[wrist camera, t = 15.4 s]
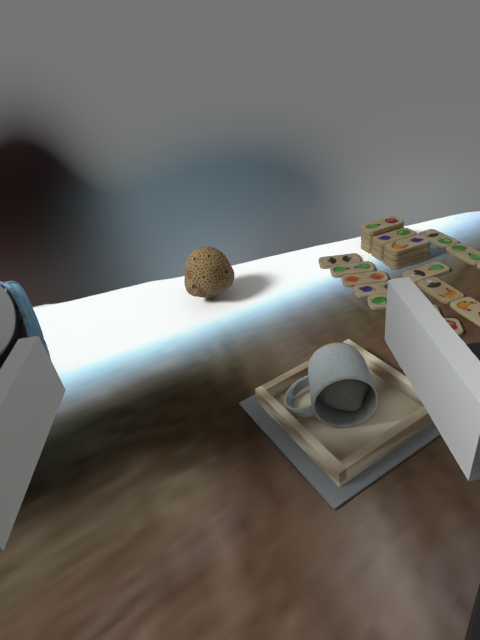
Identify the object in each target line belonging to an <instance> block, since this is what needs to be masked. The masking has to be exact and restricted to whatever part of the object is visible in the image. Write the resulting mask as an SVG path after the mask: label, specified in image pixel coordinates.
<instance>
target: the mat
mask: <svg viewBox="0 0 480 640" xmlns="http://www.w3.org/2000/svg"><path fill="white" fill-rule="evenodd" d="M239 405H240V406H241V407H242V408H243V409H244V411H245V412H246V413H247V414H248V415H249V416H250V417H251V418H252V419H253V421H254V422H255V423H256V424H257V425H258V426H259V427H260V428H261V429H262V431H263V432H264V433H265V434H266V435H267V436H268V437H269V438H270V439H271V440H272V442H273V443H274V444H275V445H276V446H277V447H278V448H279V449H280V450H281V452H282V453H283V454H284V455H285V456H286V457H287V458H288V459H289V460H290V461H291V463H292V464H293V465H294V466H295V467H296V468H297V469H298V470H299V471H300V473H301V474H302V475H303V476H304V477H305V478H306V479H307V480H308V481H309V483H310V484H311V485H312V486H313V487H314V488H315V489H316V490H317V491H318V492H319V494H320V495H321V496H322V497H323V498H324V499H325V500H326V501H327V502H328V504H329V505H330V506H331V507H332V508H333V509H334V510H335V509H337V508H338V507H340V506H341V505H343V504H344V503H345V502H347V501H348V500H350V499H351V498H352V497H354V496H355V495H357V494H358V493H359V492H361V491H362V490H364V489H365V488H366V487H368V486H369V485H371V484H372V483H373V482H375V481H376V480H378V479H379V478H381V477H382V476H383V475H385V474H386V473H388V472H389V471H390V470H392V469H393V468H395V467H396V466H397V465H399V464H400V463H402V462H403V461H404V460H406V459H407V458H409V457H410V456H411V455H413V454H414V453H416V452H417V451H419V450H420V449H421V448H423V447H424V446H426V445H427V444H428V443H430V442H431V441H433V440H434V439H435V438H437V437H438V436H440V435H441V434H440V432H439V431H438V429H437V427H436V425H435V424H434V423H432V424H431V425H429V426H428V427H426V428H425V429H424V430H422V431H421V432H419V433H418V434H416V435H415V436H413V437H412V438H411V439H409V440H408V441H406V442H405V443H403V444H402V445H400V446H399V447H397V448H396V449H395V450H393V451H392V452H390V453H389V454H387V455H386V456H384V457H383V458H382V459H380V460H379V461H377V462H376V463H374V464H373V465H371V466H370V467H368V468H367V469H366V470H364V471H363V472H361V473H360V474H358V475H357V476H355V477H354V478H353V479H351V480H350V481H348V482H347V483H345V484H344V485H342V486H341V487H338V485H337V484H336V483H335V482H334V481H333V480H332V479H331V478H330V477H329V476H328V475H327V474H326V473H325V472H324V471H323V470H322V469H321V468H320V467H319V466H318V465H317V464H316V463H315V462H314V461H313V460H312V459H311V458H310V456H309V455H308V454H307V453H306V452H305V451H304V450H303V449H302V448H301V447H300V446H299V445H298V444H297V443H296V442H295V441H294V440H293V439H292V438H291V437H290V436H289V435H288V434H287V433H286V432H285V431H284V430H283V429H282V427H281V426H280V425H279V424H278V423H277V422H276V421H275V420H274V419H273V418H272V417H271V416H270V415H269V414H268V413H267V412H266V411H265V410H264V409H263V408H262V407H261V406H260V405H259V404H258V403H257V398H256V394H254V395H252V396H250V397H249V398H247V399H245V400H243V401H241V402H239Z"/></svg>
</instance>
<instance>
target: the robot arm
mask: <svg viewBox="0 0 480 640" xmlns="http://www.w3.org/2000/svg"><path fill="white" fill-rule="evenodd" d="M43 338H44V337H43V334H42V330H41V327H40V325H39V322H38V320H37V317H36V315H35V312H34V310H33V308H32V305H31V303H30V301H29V299H28V297H27V295H26V293H25V291H24V289H23V288H22V287H21V285H20V284H19V283H17V282H15V281H8V282H0V551H4V548H5V545H6V543H7V540H8V538H9V535H10V533H11V530H12V527H13V525H14V522H15V520H16V517H17V514H18V512H19V509H20V507H21V504H22V501H23V499H24V496H25V494H26V491H27V488H28V486H29V483H30V481H31V478H32V475H33V473H34V470H35V468H36V465H37V462H38V460H39V457H40V455H41V452H42V449H43V447H44V444H45V442H46V439H47V436H48V434H49V431H50V429H51V426H52V423H53V421H54V418H55V416H56V413H57V410H58V408H59V405H60V403H61V400H62V397H63V395H64V392H65V388H64V386H63V384H62V382H61V380H60V378H59V376H58V374H57V372H56V370H55V368H54V366H53V364H52V362H51V359H50V354H49V351H48V348H47V345H46V342H45V340H44V339H43ZM385 341H386V343H387V344H388V346H389V348H390V349H391V351H392V353H393V355H394V356H395V358H396V360H397V361H398V363H399V365H400V366H401V368H402V370H403V371H404V373H405V375H406V376H407V378H408V380H409V382H410V383H411V385H412V387H413V388H414V390H415V392H416V393H417V395H418V397H419V398H420V400H421V402H422V403H423V405H424V407H425V409H426V410H427V412H428V414H429V415H430V417H431V419H432V420H433V422H434V424H435V425H436V427H437V429H438V431H439V432H440V434H441V436H442V437H443V439H444V441H445V442H446V444H447V446H448V447H449V449H450V451H451V452H452V454H453V456H454V458H455V459H456V461H457V463H458V464H459V466H460V468H461V469H462V471H463V473H464V474H465V476H466V478H467V479H468V481H472V480H478V479H480V342H479V343H472V344H465V343H464V342H463V341H462V339H461V338H460V337H459V336H458V335H457V333H456V332H455V331H454V330H453V329H452V328H451V326H450V325H449V324H448V323H447V322H446V320H445V319H444V318H443V317H442V316H441V314H440V313H439V312H438V311H437V310H436V309H435V307H434V306H433V305H432V304H431V303H430V301H429V300H428V299H427V298H426V297H425V296H424V294H423V293H422V292H421V291H420V290H419V288H418V287H417V286H416V285H415V284H414V282H413V281H412V280H411V279H410V278H409V277H404V278H397V279H391V280H388V288H387V307H386V325H385ZM465 640H480V584H479V588H478V592H477V596H476V599H475V603H474V607H473V611H472V614H471V618H470V622H469V625H468V629H467V633H466V637H465Z"/></svg>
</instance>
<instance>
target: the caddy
mask: <svg viewBox="0 0 480 640" xmlns="http://www.w3.org/2000/svg"><path fill="white" fill-rule="evenodd" d="M342 343H347V344H349V345H352V346H353V347H355V348H356V349H357V350H358V351H359V352H360V353H361V355H362V356H363V358H364V359H365V361H366V364H367V366H368V369H369V371H370V373H371V376H372V378H373V380H374V383H375V385H376V387H377V389H378V392H379V404H378V407H377V409H376V411H375V412H374V414H373V415H372V416H371V417H370V418H369V419H368V420H366V421H364V422H363V423H361V424H358V425H355V426H351V427H334V426H330V425H327V424H325V423H323V422H321V421H320V420H319V419H318V418H317V417H316V416H312V417H307V418H298V417H295V416H293V415H292V414H291V413H290V411H289V410H288V409H287V408H286V405H285V396H286V393H287V391H288V389H289V388H290V386H291V385H292V384H293V383H295V382H296V381H297V380H299V379H301V378H303V377H305V376H307V375H308V366H309V361H310V360H308V361H307V362H305V363H303V364H301V365H299V366H297V367H295V368H293V369H292V370H290V371H288V372H286V373H284V374H282V375H280V376H278V377H277V378H275V379H273V380H271V381H269V382H267V383H265V384H264V385H262V386H260V387H258V388H256V389H255V392H256V398H257V403H258V404H259V405H260V406H261V407H262V408H263V409H264V410H265V411H266V412H267V413H268V414H269V415H270V416H271V417H272V418H273V419H274V420H275V421H276V422H277V423H278V424H279V425H280V426H281V427H282V429H283V430H284V431H285V432H286V433H287V434H288V435H289V436H290V437H291V438H292V439H293V440H294V441H295V442H296V443H297V444H298V445H299V446H300V447H301V448H302V449H303V450H304V451H305V452H306V453H307V454H308V455H309V456H310V458H311V459H312V460H313V461H314V462H315V463H316V464H317V465H318V466H319V467H320V468H321V469H322V470H323V471H324V472H325V473H326V474H327V475H328V476H329V477H330V478H331V479H332V480H333V481H334V482H335V483H336V484H337V485H338V487H341V486H342V485H344V484H345V483H347V482H348V481H350V480H351V479H353V478H354V477H355V476H357V475H358V474H360V473H361V472H363V471H364V470H366V469H367V468H368V467H370V466H371V465H373V464H374V463H376V462H377V461H379V460H380V459H382V458H383V457H384V456H386V455H387V454H389V453H390V452H392V451H393V450H395V449H396V448H397V447H399V446H400V445H402V444H403V443H405V442H406V441H408V440H409V439H411V438H412V437H413V436H415V435H416V434H418V433H419V432H421V431H422V430H424V429H425V428H426V427H428V426H429V425H431V424H432V423H434V422H433V420H432V419H431V417H430V415H429V414H428V412H427V410H426V409H425V407H424V405H423V403H422V402H421V400H420V398H419V397H418V395H417V393H416V392H415V390H414V388H413V387H412V385H411V383H410V382H409V380H408V378H407V377H406V376H405V375H403V374H402V373H400V372H399V371H397V370H395V369H394V368H392V367H391V366H389V365H388V364H386V363H385V362H383V361H382V360H380V359H378V358H377V357H375V356H374V355H372V354H371V353H369V352H368V351H366V350H365V349H363V348H361V347H360V346H358V345H357V344H355V343H354V342H352V341H351V340H349V339H348V340H346V341H344V342H342ZM310 405H311V396H310V385H309V386H307V387H305V388H304V389H302V390H301V391H299V392H298V394H297V395H296V396H295V400H294V408H303V407H308V406H310Z"/></svg>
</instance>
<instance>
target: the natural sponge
mask: <svg viewBox="0 0 480 640" xmlns="http://www.w3.org/2000/svg"><path fill="white" fill-rule="evenodd" d="M233 280H234V271H233V269H232V267H231V265H230V264H229V261H228V260H227V258H226V257H225V255H224V254H223V253H222V252H221V251H219V250H217V249H215V248H212V247H202V248H199V249H196V250H194V251H193V252H192V253H191V254H190V256H189V257H188V259H187V261H186V266H185V287H186V290H187V292H188V293H189V294H191V295H193V296H198V297H204V298H212V297H215V296H217V295H218V294H219V293H221V292H223V291H224V290H226V289H227V288H229V287H230V286H231V285H232V283H233Z"/></svg>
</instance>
